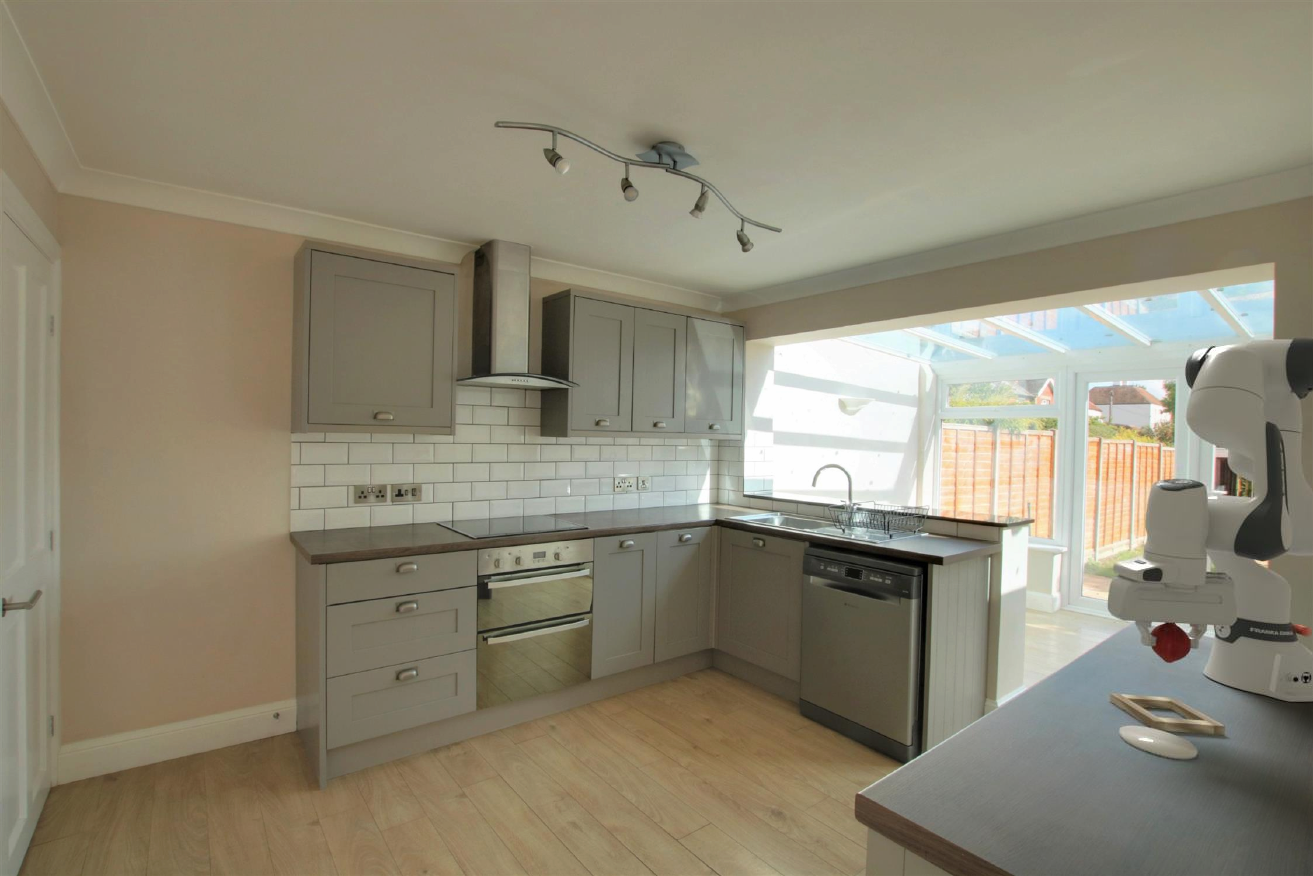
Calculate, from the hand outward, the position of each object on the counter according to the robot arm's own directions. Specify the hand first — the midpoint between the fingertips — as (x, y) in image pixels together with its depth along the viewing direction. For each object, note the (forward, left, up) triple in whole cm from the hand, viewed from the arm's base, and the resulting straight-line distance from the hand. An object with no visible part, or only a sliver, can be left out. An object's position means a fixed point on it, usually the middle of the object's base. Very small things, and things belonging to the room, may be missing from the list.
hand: (1169, 646), depth 114 cm
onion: (0, 0, -3) cm, 3 cm away
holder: (0, 0, -13) cm, 13 cm away
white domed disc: (+9, +11, -13) cm, 19 cm away
